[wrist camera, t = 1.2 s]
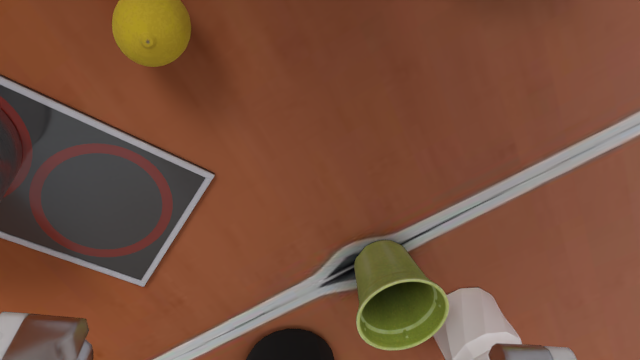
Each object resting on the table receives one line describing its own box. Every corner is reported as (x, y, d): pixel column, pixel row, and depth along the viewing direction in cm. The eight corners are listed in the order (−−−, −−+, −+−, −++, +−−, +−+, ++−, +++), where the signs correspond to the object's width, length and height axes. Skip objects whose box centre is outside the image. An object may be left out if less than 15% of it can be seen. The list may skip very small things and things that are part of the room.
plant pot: (348, 303, 63) (367, 361, 56) (330, 241, 58) (347, 297, 51) (425, 278, 63) (454, 334, 56) (413, 215, 58) (443, 267, 51)
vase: (429, 293, 65) (471, 374, 55) (499, 281, 66) (552, 358, 56) (426, 344, 69) (464, 428, 59) (491, 332, 70) (539, 413, 60)
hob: (-177, 172, 45) (-181, 175, 45) (-127, 15, 40) (-131, 17, 40) (144, 283, 57) (143, 287, 56) (214, 173, 52) (214, 175, 51)
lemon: (199, 41, 45) (197, 74, 38) (131, 52, 45) (118, 87, 38) (183, -29, 42) (178, -7, 35) (110, -18, 42) (92, 6, 35)
